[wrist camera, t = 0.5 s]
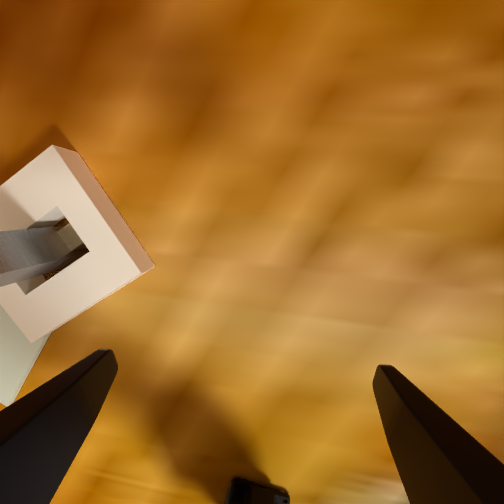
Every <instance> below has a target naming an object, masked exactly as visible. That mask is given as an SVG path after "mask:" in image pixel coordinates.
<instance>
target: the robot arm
mask: <svg viewBox="0 0 504 504" xmlns="http://www.w3.org/2000/svg"><path fill="white" fill-rule="evenodd" d="M117 371H118V364H117V361H116V358H115V355H114V352H113V350H111V349H99V350H97V351H95V352H93V353H92V354H90V355H89V356H87V357H86V358H84V359H82V360H81V361H79V362H78V363H76V364H74V365H73V366H71V367H70V368H68V369H66V370H65V371H63V372H62V373H60V374H59V375H57V376H55V377H54V378H52V379H51V380H49V381H47V382H46V383H44V384H43V385H41V386H39V387H38V388H36V389H35V390H33V391H31V392H30V393H28V394H27V395H25V396H24V397H22V398H20V399H19V400H17V401H16V402H14V403H12V404H11V405H9V406H8V407H6V408H4V409H3V410H1V411H0V504H49V503H50V502H51V500H52V498H53V496H54V494H55V493H56V491H57V489H58V487H59V485H60V484H61V482H62V480H63V478H64V476H65V475H66V473H67V471H68V469H69V467H70V466H71V464H72V462H73V460H74V458H75V457H76V455H77V453H78V451H79V449H80V448H81V446H82V444H83V442H84V440H85V438H86V437H87V435H88V433H89V431H90V429H91V428H92V426H93V424H94V422H95V420H96V418H97V416H98V414H99V412H100V410H101V407H102V405H103V403H104V401H105V398H106V396H107V394H108V392H109V390H110V387H111V385H112V383H113V381H114V378H115V376H116V374H117ZM373 390H374V394H375V398H376V402H377V405H378V409H379V413H380V416H381V420H382V424H383V428H384V431H385V435H386V438H387V442H388V445H389V448H390V451H391V453H392V456H393V459H394V461H395V464H396V467H397V469H398V472H399V475H400V478H401V480H402V483H403V486H404V488H405V491H406V494H407V496H408V499H409V502H410V504H504V464H503V463H502V462H501V461H499V460H498V459H497V458H496V457H495V456H494V455H493V454H492V453H490V452H489V451H488V450H487V449H486V448H485V447H484V446H483V445H481V444H480V443H479V442H478V441H477V440H476V439H475V438H474V437H472V436H471V435H470V434H469V433H468V432H467V431H466V430H465V429H463V428H462V427H461V426H460V425H459V424H458V423H457V422H456V421H454V420H453V419H452V418H451V417H450V416H449V415H448V414H446V413H445V412H444V411H443V410H442V409H441V408H440V407H439V406H437V405H436V404H435V403H434V402H433V401H432V400H431V399H430V398H428V397H427V396H426V395H425V394H424V393H423V392H422V391H421V390H419V389H418V388H417V387H416V386H415V385H414V384H413V383H412V382H410V381H409V380H408V379H407V378H406V377H405V376H404V375H403V374H401V373H400V372H399V371H398V370H397V369H396V368H395V367H393V366H391V365H378V366H377V369H376V372H375V376H374V379H373ZM224 504H290V496H289V495H288V494H286V493H283V492H280V491H277V490H274V489H271V488H268V487H264V486H261V485H258V484H255V483H252V482H249V481H245V480H242V479H239V478H233V479H232V481H231V484H230V487H229V490H228V493H227V496H226V499H225V502H224Z"/></svg>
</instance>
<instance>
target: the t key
mask: <svg viewBox="0 0 504 504" xmlns="http://www.w3.org/2000/svg"><path fill="white" fill-rule="evenodd" d="M85 247H86V245H85V244H84V242H83V241H82V240H81V238H80V237H79V235H78V234H77V233H76V231H75V230H74V228H73V227H72V226H71V224H70V223H68V224H67V225H66V226H59V227H47V228H34V229H22V230H10V231H0V287H2V286H5V285H9V284H12V283H16V282H19V281H23V280H26V279H30V278H33V277H37V276H40V275H44V274H47V273H50V272H54V271H57V270H61V269H64V268H66V267H67V266H68V265H70V264H71V263H73V262H74V261H76V260H77V259H79V258H80V257H82V256H83V255H85V254H86V253H87V252H86V251H85V249H84V248H85Z"/></svg>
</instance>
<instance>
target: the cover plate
mask: <svg viewBox="0 0 504 504" xmlns="http://www.w3.org/2000/svg"><path fill="white" fill-rule="evenodd" d="M65 217H66V219H67V220H68V221H69V223H70V224H71V226H72V227H73V228H74V230H75V231H76V233H77V234H78V235H79V237H80V238H81V240H82V241H83V242H84V244H85V245H86V247H87V248H88V249H89V251H90V252H88V253H87V254H85V255H84V256H82V257H81V258H80V259H78V260H77V261H75V262H74V263H72V264H71V265H69V266H68V267H66V268H65V269H63V270H62V271H60V272H59V273H57V274H56V275H55V276H53V277H52V278H50V279H49V280H46V279H45V277H44V276H43V275H40V276H37V277H33V278H30V279H26V280H23V281H19V282H16V283H12V284H9V285H5V286H2V287H0V305H1V306H2V307H3V308H4V310H5V311H6V312H7V313H8V315H9V316H10V317H11V319H12V320H13V321H14V322H15V324H16V325H17V326H18V327H19V329H20V330H21V331H22V332H23V334H24V335H25V336H26V338H27V339H28V340H29V341H30V343H33V342H35V341H36V340H38V339H40V338H42V337H43V336H45V335H47V334H49V333H51V332H52V331H54V330H56V329H57V328H59V327H61V326H62V325H64V324H65V323H67V322H68V321H70V320H72V319H73V318H75V317H76V316H78V315H79V314H81V313H83V312H84V311H86V310H87V309H89V308H91V307H92V306H94V305H95V304H97V303H98V302H100V301H102V300H103V299H105V298H106V297H108V296H110V295H111V294H113V293H114V292H116V291H117V290H119V289H121V288H122V287H124V286H125V285H127V284H128V283H130V282H132V281H133V280H135V279H136V278H138V277H140V276H141V275H143V274H144V273H146V272H147V271H149V270H151V269H152V268H154V267H155V265H154V263H153V262H152V260H151V259H150V258H149V256H148V255H147V253H146V252H145V250H144V249H143V247H142V246H141V244H140V243H139V241H138V240H137V238H136V237H135V236H134V234H133V233H132V231H131V230H130V228H129V227H128V225H127V224H126V222H125V221H124V219H123V218H122V217H121V215H120V214H119V212H118V211H117V209H116V208H115V206H114V205H113V203H112V202H111V200H110V199H109V197H108V196H107V195H106V193H105V192H104V190H103V189H102V187H101V186H100V184H99V183H98V181H97V180H96V178H95V177H94V175H93V174H92V173H91V171H90V170H89V168H88V167H87V165H86V164H85V162H84V161H83V159H82V158H81V156H80V155H79V154H78V152H75V151H72V150H69V149H65V148H62V147H59V146H55V145H51V146H50V147H49V148H47V149H46V150H45V151H44V152H42V153H41V154H40V155H38V156H37V157H36V158H35V159H33V160H32V161H31V162H30V163H28V164H27V165H26V166H25V167H23V168H22V169H21V170H20V171H18V172H17V173H16V174H15V175H13V176H12V177H11V178H10V179H8V180H7V181H6V182H5V183H3V184H2V185H1V186H0V231H10V230H22V229H34V228H47V227H53V226H54V225H56V224H57V223H58V222H60V221H61V220H63V219H64V218H65Z"/></svg>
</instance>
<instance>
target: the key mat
mask: <svg viewBox="0 0 504 504" xmlns="http://www.w3.org/2000/svg"><path fill="white" fill-rule="evenodd" d="M50 334H51V333H49V334H47V335H45V336H43V337H42V338H40V339H38V340H36V341H35V342H33V343H30V341H29V340H28V339H27V338H26V336H25V335H24V334H23V332H22V331H21V330H20V329H19V327H18V326H17V325H16V324H15V322H14V321H13V320H12V319H11V317H10V316H9V315H8V313H7V312H6V311H5V310H4V308H3V307H2V306H1V305H0V403H2V404H4V405H5V406H7V407H8V406H9V405H10V404H12V403H13V402H14V400H15V398H16V396H17V394H18V392H19V391H20V389H21V387H22V385H23V383H24V381H25V380H26V378H27V376H28V374H29V372H30V370H31V369H32V367H33V365H34V363H35V361H36V359H37V358H38V356H39V354H40V352H41V350H42V348H43V347H44V345H45V343H46V341H47V339H48V337H49V336H50Z"/></svg>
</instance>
